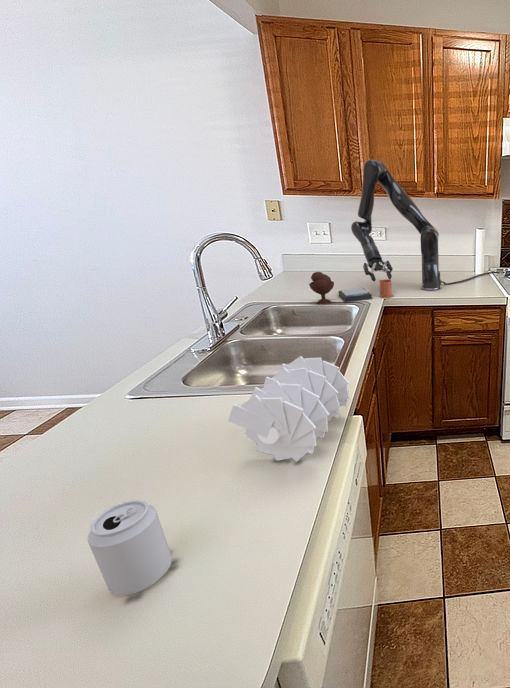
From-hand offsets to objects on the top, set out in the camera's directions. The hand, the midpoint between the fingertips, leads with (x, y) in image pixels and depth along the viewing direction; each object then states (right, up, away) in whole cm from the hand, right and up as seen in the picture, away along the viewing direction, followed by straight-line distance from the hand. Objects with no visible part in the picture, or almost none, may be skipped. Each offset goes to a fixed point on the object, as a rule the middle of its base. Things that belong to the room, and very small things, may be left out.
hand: (382, 279), depth 203 cm
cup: (+2, -8, +1) cm, 9 cm away
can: (-1, -63, -142) cm, 156 cm away
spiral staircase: (+8, -50, -109) cm, 121 cm away
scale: (-13, -9, -3) cm, 16 cm away
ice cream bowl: (-25, -13, -12) cm, 31 cm away
